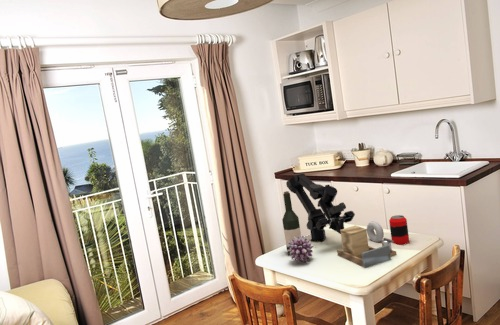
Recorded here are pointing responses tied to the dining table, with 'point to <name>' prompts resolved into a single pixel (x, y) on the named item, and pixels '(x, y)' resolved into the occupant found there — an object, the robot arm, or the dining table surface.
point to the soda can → (399, 230)
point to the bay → (368, 256)
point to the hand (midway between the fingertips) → (344, 235)
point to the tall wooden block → (354, 240)
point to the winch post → (388, 242)
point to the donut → (371, 233)
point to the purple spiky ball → (300, 249)
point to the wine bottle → (290, 222)
